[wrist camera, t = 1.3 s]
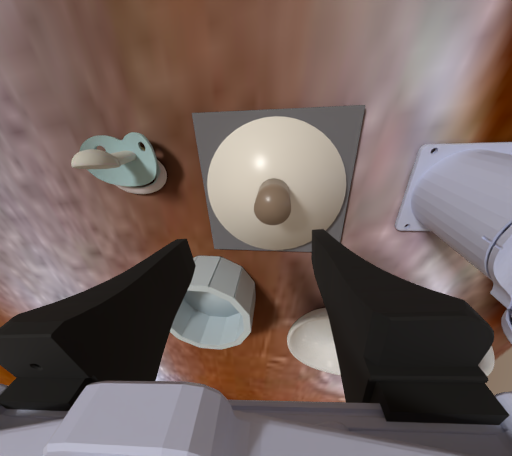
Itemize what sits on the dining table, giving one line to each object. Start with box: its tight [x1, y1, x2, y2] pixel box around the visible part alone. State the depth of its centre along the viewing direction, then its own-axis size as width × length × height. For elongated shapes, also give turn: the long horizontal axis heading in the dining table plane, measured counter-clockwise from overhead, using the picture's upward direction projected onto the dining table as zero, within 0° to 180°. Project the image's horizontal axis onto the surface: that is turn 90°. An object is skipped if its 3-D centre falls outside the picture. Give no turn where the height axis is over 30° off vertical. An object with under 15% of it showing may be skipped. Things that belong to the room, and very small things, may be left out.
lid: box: [207, 116, 346, 250], centre depth 19 cm, size 13×13×4 cm
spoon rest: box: [287, 308, 495, 376], centre depth 26 cm, size 24×12×7 cm, turn 93°
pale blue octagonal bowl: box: [170, 256, 256, 349], centre depth 26 cm, size 11×11×5 cm
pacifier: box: [71, 132, 167, 194], centre depth 19 cm, size 7×6×6 cm
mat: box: [192, 105, 365, 252], centre depth 21 cm, size 14×14×1 cm
